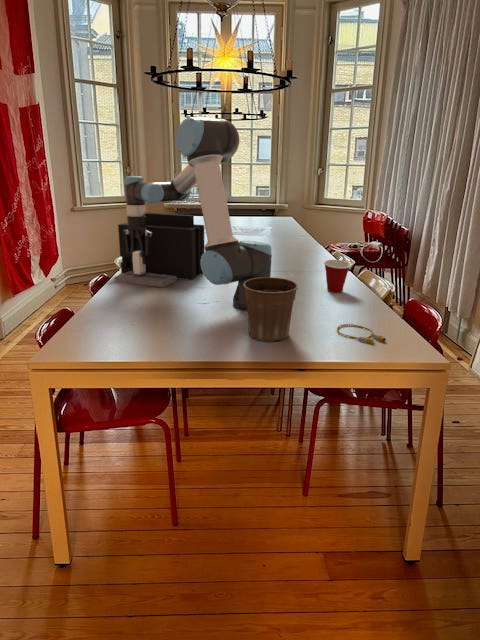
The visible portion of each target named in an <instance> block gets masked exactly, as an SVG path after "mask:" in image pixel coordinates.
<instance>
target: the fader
mask: <svg viewBox="0 0 480 640" xmlns="http://www.w3.org/2000/svg"><path fill="white" fill-rule="evenodd" d="M141 256H142V255H141V251H140V250H138V251H135V252H133V267H134V274H133V276H141V275H144V274H146V272H145V271H144V272H141V264H140V257H141Z"/></svg>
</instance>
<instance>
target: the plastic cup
mask: <svg viewBox="0 0 480 640" xmlns="http://www.w3.org/2000/svg"><path fill="white" fill-rule="evenodd" d="M323 264H324V268H325V269H324V270H325V277H326V278H325V280H326V287H327V288H326V289H327V292H328V293H332V294H341V293H342V292H343V290H344V286H345V283H346V279H347V276H348V273H349V270H350V268H351V266H352V264H351V262H348V261H345V260H340V259H327V260H324V261H323Z"/></svg>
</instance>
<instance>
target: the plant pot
mask: <svg viewBox="0 0 480 640" xmlns="http://www.w3.org/2000/svg"><path fill="white" fill-rule="evenodd" d="M243 286H244V288H245V296H246V299H247V310H246V311H247V320H248V321H247V324H248V335H249V336H251V338H252V339H255V340H257V341H260V340H261V341H260V342H267V341H268V343H269V342H270V343H271V342H275V341H279V342H281V341H284V340H285V339H287V338H288V337H289V332H290V326H291V318H292V313H293V312H292V311H293V307H294V301H295V299H296V294H297V290H298V289H299V284H298V283H297V282H295V281H294V280H290V279H287V278H281V277H271V276H270V277H260V278H253V279H249V280H247V281H245V282H244V283H243ZM280 340H281V341H280Z"/></svg>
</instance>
